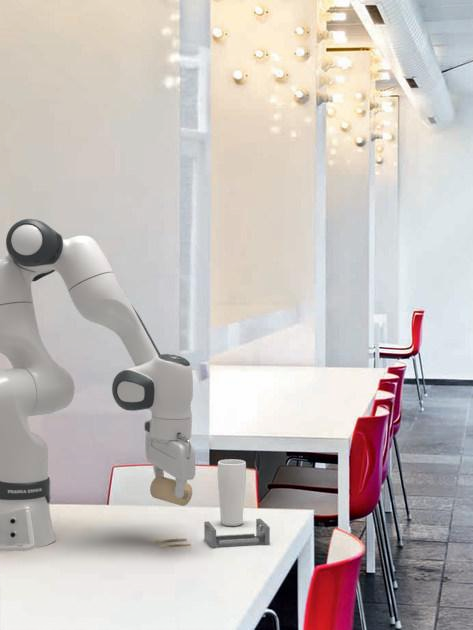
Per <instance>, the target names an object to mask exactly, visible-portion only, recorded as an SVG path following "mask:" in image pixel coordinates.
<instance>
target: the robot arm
mask: <svg viewBox="0 0 473 630" xmlns="http://www.w3.org/2000/svg"><path fill="white" fill-rule="evenodd" d="M5 246H6V247H5V248H6V250H7V253H8V254H7V256H4V257H3V258H0V353H1V354H3V356H5V358H6V359H8V361H9V362H10V364H11V365H12V368H5V369H4V368H2V369H0V552H29V551H31V550H34V549H36V548H41V547H45V546H47V545H51V544H52V543H54V542H55V541H56V539H57V538H56V534H55V531H54V527H53V522H52V517H51V510H50V509H51V508H50V502H51V495H52V494H51V493H52V492H51V491H52V489H51V487H52V485H51V480H50V477H49V455H48V454H49V453H48V451H49V450H48V449H49V448H48V444H47V442H46V441H45V440H44V439H43V438H42V437H41V436H40V435H38V434H36V433H34V432H32V430H31V429H30V427H29V426H30V425H29V421H28V417H33V416H42V415H50V414H53V413H55V412H58V411H60V410H63V409H66V408H67V407H69V406H70V404H72V401H73V400H74V399H73V398H74V396H75V390H76V389H75V382H74V380H73V377H72V375H71V374H70V372H69V371H68V370H66V368H64V367H62V366H61V365H60V364H58V363H57V362H56V361H55V359H53V357H52V356H51V355H50V353H49V352H48V350H47V348H46V346H45V345H44V343H43V341H42V338H41V335H40V330H39V326H38V321H37V317H36V312H35V305H34V300H33V299H34V298H33V293H32V282H37V281H38V280H40V279H42V278H44V277H46V276H48V275H51V274H52V273H54V272H57V273H58V274H59V275H60V277H61V279H62V280H63V282H64V285H65V288H66V289H67V291H68V294H69V296H70V299H71V302H72V303H73V305H74V307H75V308H76V310H77V311H78V313H79V314H80V316H82V317H83V318H84V319H86V320H87V321H89V322H92V323H94V324H98V325H101V326H103V327H105V328H107V329H109V330H110V331H112V332H113V333H114V334H116V335H117V336H118V337H119V339H120V340H121V341H122V344H123V345H124V347H125V349H126V351H127V352H128V354H129V356H130V357H131V360H132V362H133V363H134V367H129V368H126V369H124V370H121V371H119V372H118V373H117V374H116V375H115V377H114V379H113V380H112V381H113V382H112V384H111V385H112V386H111V391H112V392H111V393H112V396H113V400H114V402H115V403H116V404H117V406H118V407H120V408H121V409H123V410H125V411H131V412H136V411H137V412H138V411H142V410H143V411H144V410H149V411H151V419H149V420H146V421H144V425H143V427H144V428H143V430H144V431H145V432H146V433H145V441H144V442H145V457H146V460H147V462H148V463H150V464H152V465H153V466H152V467H153V473H154V478H156V477H157V476H162V477H165V476H164V475H165V473H167V474H169V475H170V476H172V477H174V478H175V480H176V482H177V483H176V487H175V488H174V496H175V497H177V498H181V497H183V496H184V488H185V486H186V484H187V483H188V481H189V480H190V481H191V480H194V479H195V475H196V451H195V447H194V445H193V444H192V443H191V441H190V439H191V438H192V422H193V412H192V409H191V408H192V407H191V405H192V404H191V403H192V400H193V397H194V396H193V395H194V379H193V369H192V365H191V363H190V361H189V360H188V359H186V358H184V357H182V356H179V355H176V354H169V353H163V354H161V353H160V351H159V349H158V347H157V346H156V344H155V342H154V340H153V337H152V336H151V334H150V333H149V331H148V329H147V326H146V325H145V324H144V322H143V321H142V318H141V317H140V315H139V313H138V311H136V309H135V307H134V306H133V304H132V303H131V302H130V300H129V299H128V297H127V296H126V294H125V292H124V290H123V289H122V287H121V285H120V283H119V280H118V279H117V277H116V275H115V272H114V270H113V268H112V266H111V264H110V262H109V260H108V258H107V256H106V255H105V253H104V251H103V250H102V248H101V246H100V245H99V244H98V243H97V241H96V240H95V239H94V238H93V237H91V236H88V235H76V236H72V237H69V238H67V239H64V238H63V236H62V235H61V233H58V232H57V231H56V230H54V229H53V228H52V227H50V226H49V225H48V224H46V223H45V222H43V221H41V220H38V219H35V218H34V219H33V218H25V219H22V220H19V221H17V222H16V223H14V224H13V225H12V226H11V227H10V228H9V230H8V232H7V235H6V237H5ZM164 472H165V473H164Z"/></svg>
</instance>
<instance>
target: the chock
mask: <svg viewBox="0 0 473 630" xmlns="http://www.w3.org/2000/svg"><path fill="white" fill-rule="evenodd" d="M177 542H178V543H177ZM179 542H188V539H187V538H186V537H185V538H172V539H171V538H170V539H167V538H166V539H155V542H154V543H156V544H160V545H158V548H176V547H190V546H192V545H191V543H179ZM163 543H175V544H163ZM176 543H177V544H176Z"/></svg>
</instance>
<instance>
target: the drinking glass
mask: <svg viewBox="0 0 473 630" xmlns="http://www.w3.org/2000/svg"><path fill="white" fill-rule="evenodd" d="M246 482H247V463H246V461H245V460H242V459H221V460H219V461H218V462H217V489H218V500H219V511H220V512H219V514H220V517H219V519H220V521H219V522H220V524H221V525H222V526H225V527H238V526H241V525H242V524H243V522H244V508H245V507H244V506H245V497H246V496H245V493H246Z"/></svg>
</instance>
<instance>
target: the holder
mask: <svg viewBox="0 0 473 630" xmlns="http://www.w3.org/2000/svg"><path fill="white" fill-rule="evenodd" d="M255 521H256V522H255V523H256V525H255V528H256V530H255V533H241V534H239V533H238V534H223V535H217V529H216V528H215V527H214V526H213V525H212V523H211V522H210V521H204V522H203V523H204V524H203V525H204V526H203V527H204V531H203V532H204V533H203V535H204V537H203V538H204V540H203V541H204V542H207V543H206V544H207V545H208V546H209V547H210V549H221V548H238V547H253V546H254V547H256V546H270V533H271V531H270V530H271V527H270V526H269V525H268V524H267V523H266V522H264V520H262V518H256V520H255Z"/></svg>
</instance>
